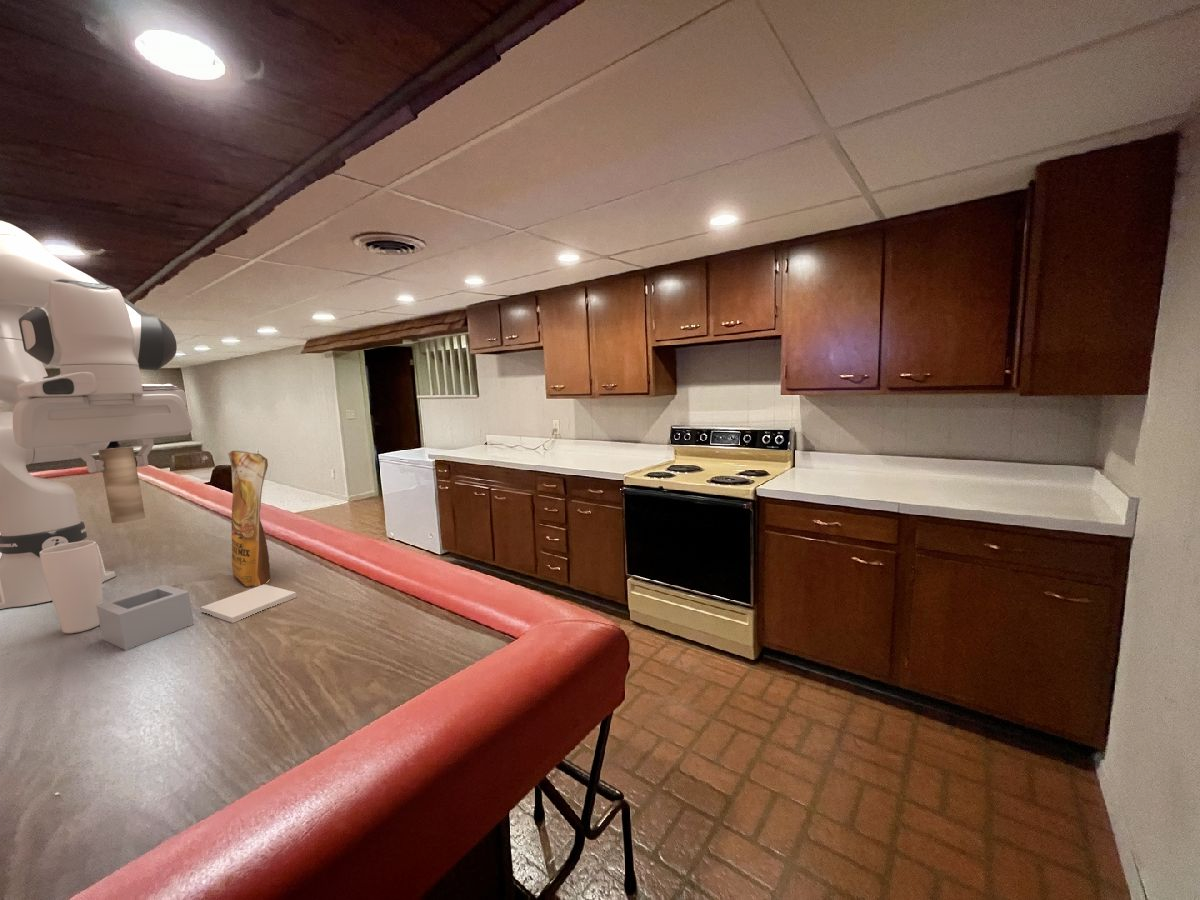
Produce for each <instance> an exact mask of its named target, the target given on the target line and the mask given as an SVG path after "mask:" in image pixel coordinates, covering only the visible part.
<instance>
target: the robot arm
mask: <svg viewBox="0 0 1200 900" xmlns="http://www.w3.org/2000/svg"><path fill="white" fill-rule="evenodd" d="M30 308H34V309H32V310H30ZM29 310H30V311H29ZM177 346H178V345H177V340H176V338H175V333H174V332H173V330H172V329H171V328H170V326H168V325H167V324H166V322H164V321H163V320H161V319H160V318H159V317H157V316H156V315H154V314H150V313H147V312H144V311H143V310H142V309H140V308H139V307H138V306H136V305H135V304H133V303H132V302H131V301H129V300H128V299H127V298H125V297H124V296H123V295H122V293H121V291H120V289H118V288H116V287H114V286H112V285H109V284H106V283H105V282H103V281H101V280H100V279H98V278H95V277H93V276H91V275H89V274H87V273H85V272H83V271H81V270H80V269H78V268H76V267H73V266H72V265H69V264H68V263H66V262H65V261H63V260H61V259H60V258H58V257H57V256H54V254H52V253H51V252H50V251H49V250H48V249H47V247H46V246H44V245H43V244H42V243H41V242H40V241H38V240H37V239H36V238H35V237H34V236H32V235H30V234H29V233H28V232H26V231H25V230H24V229H22V228H19V227H18V226H16V225H14V224H12V223H9V222H6V221H4V220H0V400H1V401H3V402H5V403H8V404H9V405H11V406H13V407H14V408H13V410H12V411H11V410H10V411H0V553H1V555H0V610H3V609H7V608H17V607H25V606H31V605H35V604H36V605H38V604H43V603H47V602H51V601H52V598H51V596H50V593H49V590H48V587H47V584H46V582H45V579H44V575H43V572H42V567H41V562H40V554H39V552H40V551H42V550H44V549H47V548H50V547H53V546H57V545H62V544H67V543H72V542H79V541H89V540H88V539H87V537H88V534H87V527H86V525H85V523H84V521H81V515H80V510H79V506H78V505H79V504H78V500H77V495H76V492H75V490H74V488H73V487H72V486H70V485H68V484H67V483H65V482H61V481H58V480H53V479H48V478H44V477H37V476H33V475H32V474H31V473H30V472H29V470H28V468H27V465H31V464H38V463H48V462H49V463H50V462H58V461H59V462H60V461H67V460H76V459H81V460H82V461H84V462H85V463H86V468H87V469H86V470H87V471H88V473H90V474H91V473H99V472H102V471H105V467H104V466H103V465H104V462H103V460H100V459H97V460H96V459H95V458H94V457H93V456H92V455H96V454H99V451H98V450H102V449H108V446H109V445H110V443H113V442H121V441H133V440H136V442H137V445H138V446H141V447H140V449H139V451H138V453H137V455H134V456H135V461H136V467H137V468H138V467H140V468H141V467H147V466H148V465H149V460H148V456H149V454H150V452H151V451H152V449H153V447H154V445H155V443H154V439H155V438H157V439H158V438H165V437H166V438H168V437H179V436H180V437H181V436H187V435H189V434H190V433H191V432H192V430H193V425H192V422H191V421H192V420H191V417H190V415H189V411H188V409H187V403H188V402H187V400H188V399H187V395H186V392H185V391H184V390H183V389H182V388H181V387H180V386H177V385H174V384H173V383H164V384H163V383H162V384H157V383H143V381H142V376H141V370H147V371H158V370H161V368H163V367H165V366H166V365H167V364H168V363H169V362H170V361H172V360H174V358H175V356H176V354H177V350H178V349H177ZM44 364H45V365H49V366H55V367H59V372H60V373H59V374H58V375H53V374H52V375H48V372H47V370H46V367H45V366H44ZM96 545H97V548H98V552H99V557H100V564H101V577H102V584H103V583H105V582H106V581H108V580H110V579H113V578H115V577H116V572H115V571H113V570H112V571H111V570H106V568H105V565H104V560H103V557H102V554H101V551H100V546H99V545H98V544H97V543H96ZM52 602H53V601H52Z"/></svg>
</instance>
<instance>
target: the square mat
mask: <svg viewBox="0 0 1200 900" xmlns="http://www.w3.org/2000/svg"><path fill="white" fill-rule="evenodd" d="M296 598H297V592H295V591H293V590H292V591H291V590H288V589H284V588H281V587H276V586H273V585H269V584H264V585H261V586H254V587H252V588H250V589H247V590H244V591H242V592H239V593H237V594H233V595H230V596H228V597H225V598H223V599H220V600H217V601H215V602H214V601H213V602H211V603H209V604H206V605H203V606H200V612H201V613H202V612H204V613H203V614H205V613H207V614H206V615H208V614H210V615H209V616H211V615H212V616H211V617H214V618H217V619H220V620H223V621H226V622H228V623H229V622H230V623H231V624H232V623H233V624H234V623H237V622H239V621H241V619H242V620H244V619H247V618H249V617H251V616H250V615H252V614H254V615H256V614H255V613H257V612H259V611H261V612H263V611H262V610H264V609H266V608H269V607H271V608H273V607H272V606H274V607H276V606H278V605H277V604H279V605H281V604H284V603H286V602H289V601H291V600H293V599H296ZM283 602H284V603H283ZM280 603H281V604H280ZM275 605H276V606H275ZM269 609H270V608H269ZM266 610H267V609H266ZM264 611H265V610H264ZM259 613H260V612H259ZM257 614H258V613H257ZM248 616H249V617H248ZM252 616H253V615H252ZM246 617H247V618H246ZM243 618H244V619H243Z"/></svg>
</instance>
